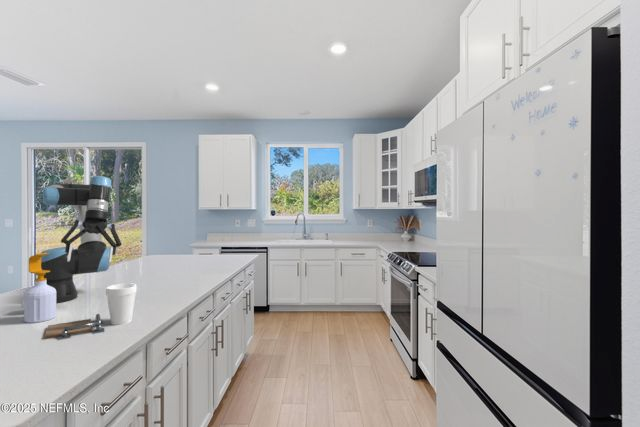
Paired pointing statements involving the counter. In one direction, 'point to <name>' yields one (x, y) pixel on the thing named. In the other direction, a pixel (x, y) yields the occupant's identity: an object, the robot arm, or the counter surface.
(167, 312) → the counter surface
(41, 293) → the soap bottle
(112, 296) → the foam cup
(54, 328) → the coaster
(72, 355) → the counter surface
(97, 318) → the rail
